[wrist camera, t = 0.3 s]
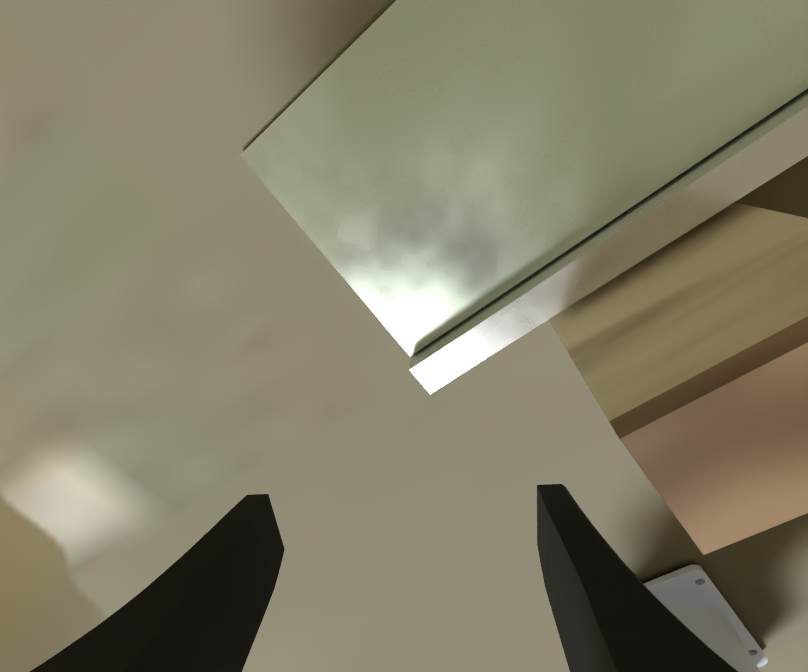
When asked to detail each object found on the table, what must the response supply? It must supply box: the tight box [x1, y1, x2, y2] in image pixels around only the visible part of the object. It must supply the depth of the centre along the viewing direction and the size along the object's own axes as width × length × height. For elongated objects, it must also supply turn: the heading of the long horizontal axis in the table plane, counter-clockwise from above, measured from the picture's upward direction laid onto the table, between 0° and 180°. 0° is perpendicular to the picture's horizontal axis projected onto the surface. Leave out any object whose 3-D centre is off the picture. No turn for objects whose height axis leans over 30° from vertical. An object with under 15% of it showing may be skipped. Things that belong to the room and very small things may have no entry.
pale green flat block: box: [240, 0, 808, 394], centre depth 16 cm, size 13×20×2 cm, turn 128°
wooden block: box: [549, 202, 808, 555], centre depth 15 cm, size 5×8×9 cm, turn 128°
